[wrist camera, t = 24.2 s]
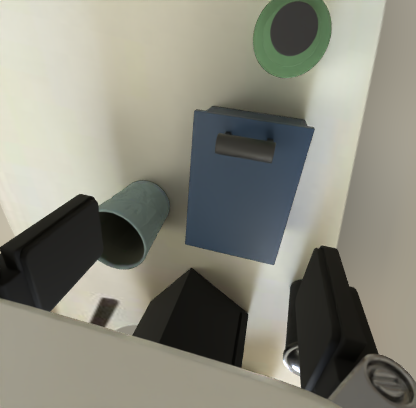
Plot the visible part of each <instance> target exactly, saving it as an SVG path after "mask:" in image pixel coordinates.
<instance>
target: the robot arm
mask: <svg viewBox="0 0 416 408" xmlns="http://www.w3.org/2000/svg"><path fill="white" fill-rule="evenodd" d="M0 251H1V254H0V408H416V382H415V381H414V379H413V378H412V376H411V375H410V374H409V373H408V372H407V371H406V370H405V369H404V368H403V367H402V366H401V365H400V364H398V363H397V362H395V361H394V360H392V359H390V358H388V357H386V356H383V355H379V354H378V351H377V348H376V345H375V342H374V339H373V336H372V334H371V331H370V328H369V325H368V322H367V319H366V316H365V313H364V310H363V307H362V304H361V301H360V299H359V295H358V292H357V291H356V289H355V288H353V287H349V284H348V281H347V278H346V275H345V271H344V268H343V265H342V262H341V258H340V256H339V252H338V250H337V249H336V248H331V247H326V246H320V248H319V249H318V248H315V249H314V251H313V253H312V256H311V259H310V261H309V264H308V267H307V269H306V272H305V275H304V277H303V280H302V282H301V285H300V288H299V290H298V293H297V296H296V301H295V308H296V322H297V337H298V351H299V366H300V380H301V388H299V387H297V386H294V385H291V384H288V383H286V382H283V381H280V380H277V379H273V378H270V377H267V376H264V375H261V374H258V373H255V372H251V371H248V370H245V369H242V368H239V367H236V366H232V365H229V364H226V363H222V362H219V361H216V360H212V359H209V358H206V357H202V356H199V355H196V354H192V353H189V352H186V351H182V350H179V349H176V348H172V347H169V346H166V345H162V344H159V343H155V342H152V341H149V340H145V339H142V338H138V337H135V336H131V335H128V334H125V333H121V332H118V331H115V330H111V329H108V328H104V327H101V326H97V325H94V324H91V323H87V322H84V321H80V320H77V319H73V318H70V317H66V316H63V315H59V314H56V313H52V312H50V311H51V310H52V309H53V308H54V307H55V306H56V305H57V304H58V303H59V301H60V300H61V299H62V298H63V297H64V296H65V295H66V294H67V293H68V292H69V290H70V289H71V288H72V287H73V286H74V285H75V284H76V283H77V282H78V281H79V279H80V278H81V277H82V276H83V275H84V274H85V273H86V272H87V271H88V270H89V268H90V267H91V266H92V265H93V264H94V263H95V262H96V261H97V260H98V259H99V257H100V256H101V255H102V253H103V240H102V232H101V224H100V215H99V207H98V202H97V201H96V200H95V198H94V197H92V196H88V195H83V194H79V195H77V196H76V197H74V198H73V199H71V200H70V201H68V202H67V203H65V204H64V205H62V206H61V207H59V208H58V209H56V210H55V211H53V212H52V213H50V214H49V215H47V216H46V217H44V218H43V219H41V220H40V221H38V222H37V223H35V224H34V225H32V226H31V227H29V228H28V229H26V230H25V231H23V232H22V233H20V234H19V235H18V236H16V237H15V238H13V239H12V240H10V241H9V242H7V243H6V244H4V245H3V246H1V247H0Z"/></svg>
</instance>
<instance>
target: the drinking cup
mask: <svg viewBox="0 0 416 408" xmlns="http://www.w3.org/2000/svg"><path fill="white" fill-rule="evenodd" d="M302 280H303V279H301V280H297V281H295V282H294V283H292V285H291V287H290V298H289V310H288V322H287V335H286V347H285V350H284V352H283V361H284V363H285V365H286V367H287V368H288V369H289V370H290V371H292V372H293V373H295V374H297V375H299V376H300V366H299V351H298V337H297V322H296V308H295V301H296V296H297V293H298V290H299V288H300V285H301V282H302Z"/></svg>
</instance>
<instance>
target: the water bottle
mask: <svg viewBox="0 0 416 408" xmlns="http://www.w3.org/2000/svg"><path fill="white" fill-rule="evenodd" d="M330 37H331V17H330V14H329V11H328V8H327V6H326V5H325V3H324V2H323V1H322V0H272V1H270V2H269V4H268V5H267V6H266V7H265V8H264V9H263V11H262V12H261V14H260V16H259V18H258V20H257V23H256V26H255V29H254V35H253V47H254V52H255V55H256V58H257V60H258V62H259V64H260V65H261V66H262V68H263V69H264V70H266V71H267V72H268V73H270V74H272V75H274V76H276V77H280V78H292V77H296V76H299V75H302V74H304V73H306V72H307V71H309V70H310V69H311V68H313V67H314V66H315V65H316V64H317V63H318V62H319V60H320V59H321V58H322V56H323V55H324V53H325V51H326V49H327V47H328V44H329V41H330Z"/></svg>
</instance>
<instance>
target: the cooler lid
mask: <svg viewBox="0 0 416 408" xmlns="http://www.w3.org/2000/svg"><path fill="white" fill-rule="evenodd" d="M313 133H314V127H309V126H303V125H296V124H289V123H283V122H276V121H269V120H263V119H256V118H250V117H243V116H236V115H230V114H223V113H217V112H210V111H203V110H197V109H196V110H195V111H194V122H193V136H192V151H191V166H190V180H189V195H188V209H187V224H186V239H185V244H186V245H190V246H195V247H199V248H203V249H207V250H212V251H216V252H220V253H224V254H229V255H233V256H237V257H241V258H246V259H250V260H254V261H258V262H263V263H267V264H271V265H274V264H275V260H276V257H277V254H278V250H279V247H280V243H281V240H282V237H283V233H284V230H285V227H286V223H287V220H288V217H289V213H290V210H291V207H292V203H293V200H294V197H295V193H296V190H297V186H298V183H299V180H300V176H301V173H302V170H303V166H304V163H305V160H306V156H307V153H308V150H309V146H310V143H311V140H312V136H313Z"/></svg>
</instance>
